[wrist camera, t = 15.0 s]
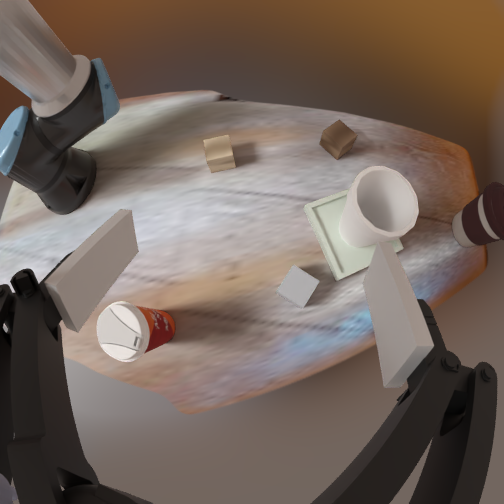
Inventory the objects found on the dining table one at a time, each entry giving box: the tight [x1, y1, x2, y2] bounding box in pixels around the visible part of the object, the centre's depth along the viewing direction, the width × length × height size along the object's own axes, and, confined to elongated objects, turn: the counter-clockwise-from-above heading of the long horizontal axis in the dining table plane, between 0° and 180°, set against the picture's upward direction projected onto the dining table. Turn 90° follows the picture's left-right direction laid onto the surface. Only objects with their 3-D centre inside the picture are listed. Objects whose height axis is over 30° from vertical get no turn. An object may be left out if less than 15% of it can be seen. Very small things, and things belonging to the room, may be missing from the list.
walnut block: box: [320, 120, 358, 160], centre depth 45 cm, size 4×4×4 cm
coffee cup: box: [452, 182, 504, 247], centre depth 35 cm, size 10×10×15 cm
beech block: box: [203, 134, 236, 173], centre depth 46 cm, size 4×4×4 cm
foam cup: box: [339, 166, 419, 248], centre depth 36 cm, size 10×9×13 cm
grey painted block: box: [276, 265, 320, 308], centre depth 40 cm, size 4×4×4 cm
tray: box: [304, 188, 404, 281], centre depth 43 cm, size 13×13×2 cm
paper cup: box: [97, 301, 175, 362], centre depth 36 cm, size 8×8×14 cm
